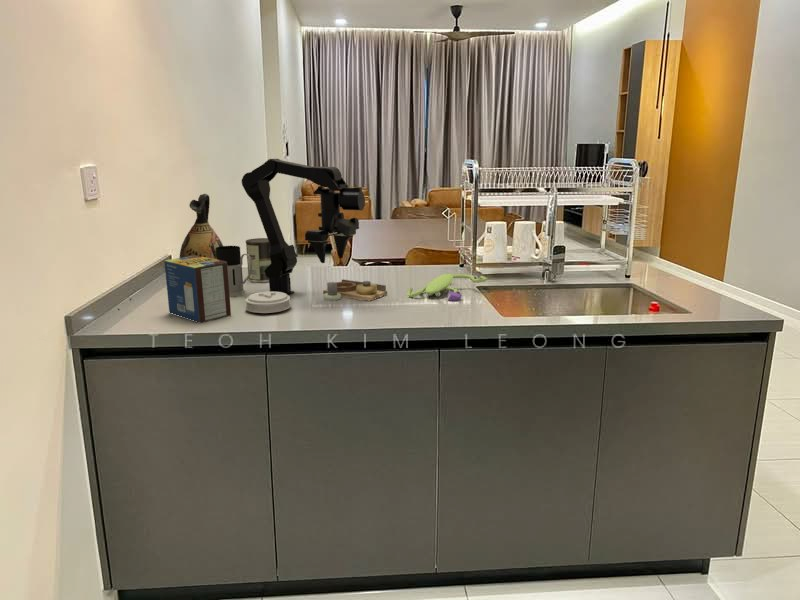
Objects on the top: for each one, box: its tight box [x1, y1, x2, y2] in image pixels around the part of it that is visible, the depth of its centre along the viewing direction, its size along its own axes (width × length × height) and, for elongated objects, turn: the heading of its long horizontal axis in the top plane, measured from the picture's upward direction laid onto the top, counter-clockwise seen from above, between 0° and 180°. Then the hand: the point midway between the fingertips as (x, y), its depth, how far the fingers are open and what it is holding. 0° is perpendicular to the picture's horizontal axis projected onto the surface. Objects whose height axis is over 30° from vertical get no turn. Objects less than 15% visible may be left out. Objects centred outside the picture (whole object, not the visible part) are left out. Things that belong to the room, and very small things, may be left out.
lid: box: [245, 291, 291, 314], centre depth 176 cm, size 13×13×5 cm
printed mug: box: [245, 237, 271, 283], centre depth 214 cm, size 10×10×14 cm
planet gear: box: [323, 281, 342, 302], centre depth 189 cm, size 5×5×5 cm
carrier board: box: [322, 279, 388, 302], centre depth 194 cm, size 10×18×5 cm, turn 59°
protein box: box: [163, 255, 232, 323], centre depth 170 cm, size 10×15×16 cm
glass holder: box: [216, 245, 252, 298], centre depth 192 cm, size 9×14×15 cm, turn 59°
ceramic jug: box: [178, 193, 224, 259], centre depth 212 cm, size 17×15×30 cm
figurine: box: [406, 272, 488, 302], centre depth 197 cm, size 18×27×6 cm
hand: (332, 260), depth 187 cm, fingers open, 9 cm apart
